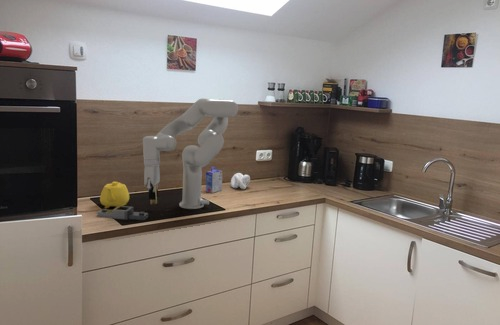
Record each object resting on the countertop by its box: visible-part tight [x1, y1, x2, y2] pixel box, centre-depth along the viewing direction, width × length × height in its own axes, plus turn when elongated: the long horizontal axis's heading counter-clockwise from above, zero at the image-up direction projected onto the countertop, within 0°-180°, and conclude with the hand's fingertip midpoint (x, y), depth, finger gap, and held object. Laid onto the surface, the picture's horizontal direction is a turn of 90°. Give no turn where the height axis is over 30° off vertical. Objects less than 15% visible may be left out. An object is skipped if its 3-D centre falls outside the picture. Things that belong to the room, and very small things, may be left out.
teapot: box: [99, 181, 130, 209], centre depth 207 cm, size 13×20×12 cm
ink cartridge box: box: [205, 166, 223, 194], centre depth 248 cm, size 10×6×14 cm, turn 148°
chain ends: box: [96, 205, 149, 221], centre depth 193 cm, size 22×7×4 cm, turn 84°
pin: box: [150, 184, 158, 205], centre depth 203 cm, size 3×3×10 cm
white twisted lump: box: [230, 172, 251, 191], centre depth 258 cm, size 11×12×9 cm
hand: (153, 198), depth 204 cm, fingers closed on pin, 3 cm apart
